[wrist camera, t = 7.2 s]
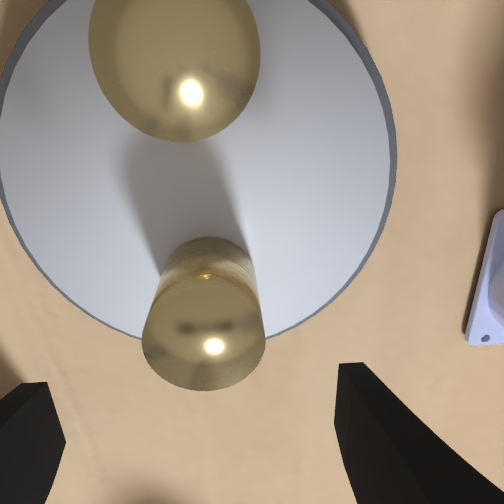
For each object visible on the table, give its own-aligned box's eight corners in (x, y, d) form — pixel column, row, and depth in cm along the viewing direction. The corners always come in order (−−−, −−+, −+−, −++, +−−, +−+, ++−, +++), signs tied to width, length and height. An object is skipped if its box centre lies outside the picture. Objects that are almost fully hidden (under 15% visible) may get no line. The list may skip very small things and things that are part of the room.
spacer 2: (250, 231, 16) (259, 282, 11) (259, 312, 17) (270, 383, 13) (154, 242, 15) (128, 298, 11) (172, 323, 17) (156, 397, 13)
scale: (408, -114, 13) (456, -167, 11) (362, 317, 21) (383, 352, 18) (-57, -113, 13) (-136, -169, 10) (65, 334, 20) (40, 374, 17)
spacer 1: (248, -4, 12) (258, -52, 8) (251, 124, 14) (261, 139, 10) (123, -2, 12) (71, -50, 8) (141, 128, 14) (105, 145, 10)
